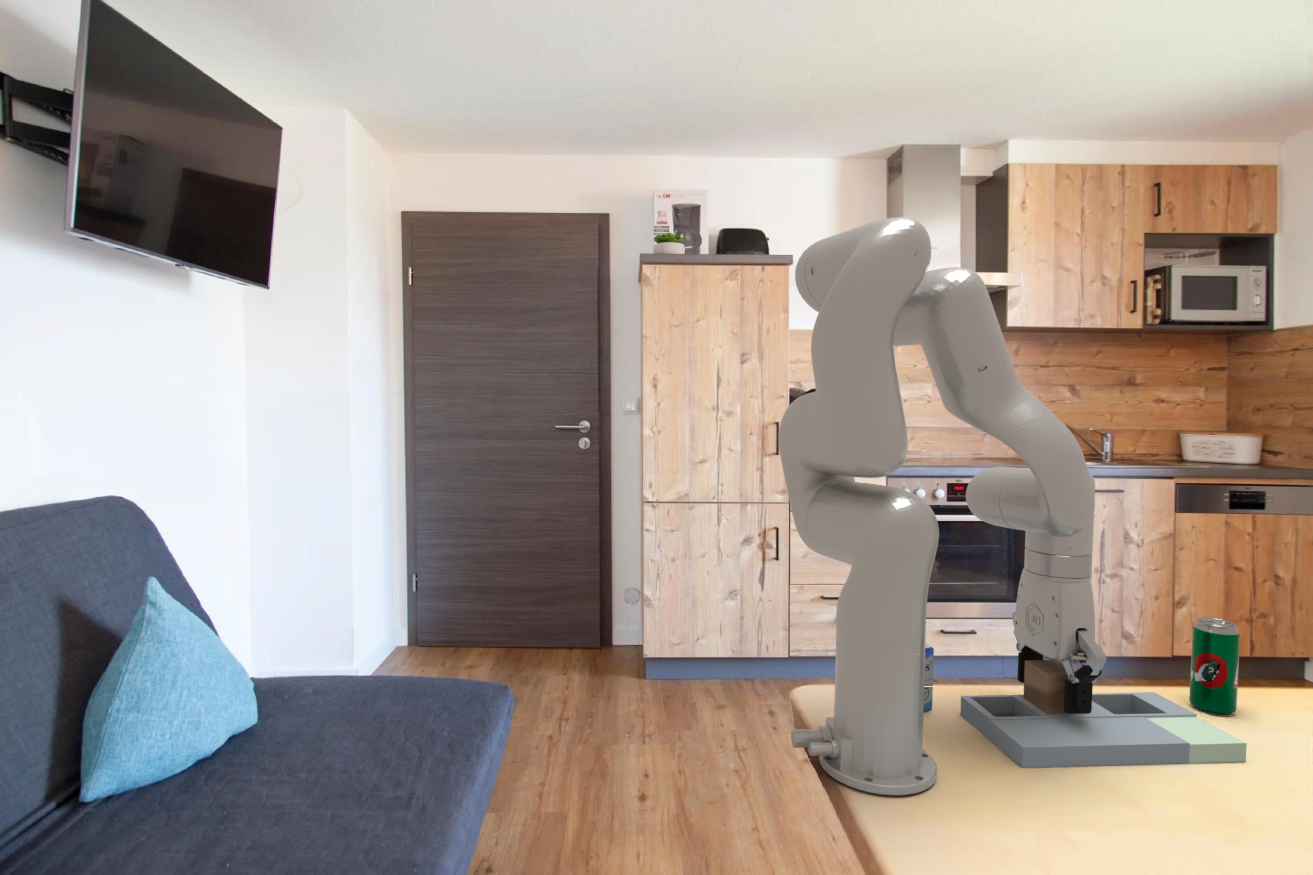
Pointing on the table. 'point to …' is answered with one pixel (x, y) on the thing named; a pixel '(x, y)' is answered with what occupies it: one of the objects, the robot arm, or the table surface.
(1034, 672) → the block
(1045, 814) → the table surface
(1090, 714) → the box
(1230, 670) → the soda can
